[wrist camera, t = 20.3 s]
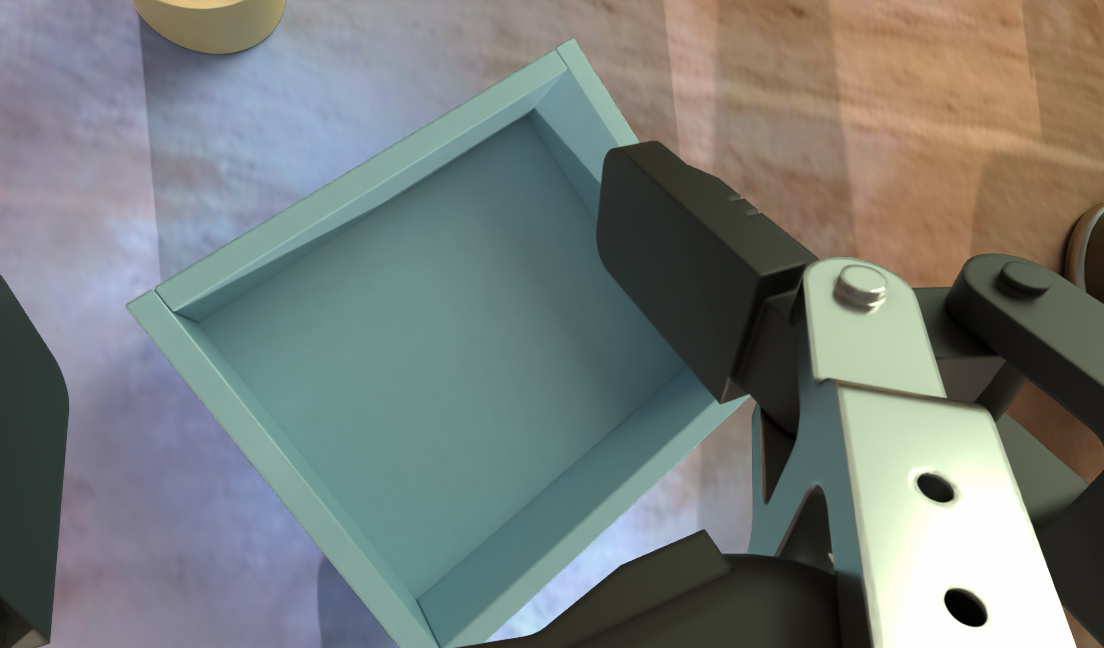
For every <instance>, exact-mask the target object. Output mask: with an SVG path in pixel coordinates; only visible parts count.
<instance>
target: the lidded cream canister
mask: <svg viewBox="0 0 1104 648" xmlns="http://www.w3.org/2000/svg"><path fill="white" fill-rule="evenodd" d="M131 1H132V3H133V5H134V7H135V8H136V10H137V11H138V13H139V14H140V15H141V17H142V18H143V19H144V20H145V21H146V23H148V24H149V25H150V26H151V27H152V28H153V29H154V30H155V31H156V32H158V33H159V34H160V35H162V36H163V37H165V38H166V39H168V40H170V41H171V42H173V43H175V44H178V45H180V46H182V47H185V48H188V49H191V50H194V51H198V52H203V53H211V54H227V53H234V52H239V51H242V50H246V49H248V48H250V47H253V46H255V45H256V44H258V43H260V42H261V41H263V40H264V39H265V38H266V37H268V36H269V35H270V34H271V32H272V31H273V30H274V29H275V28H276V26H277V25H278V23H279V21H280V19H281V17H282V15H283V11H284V8H285V2H286V0H131Z"/></svg>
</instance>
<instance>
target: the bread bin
mask: <svg viewBox="0 0 1104 648" xmlns="http://www.w3.org/2000/svg"><path fill="white" fill-rule="evenodd" d="M637 143H640V142H639V141H638V139H637V137H636V136H635V134H634V133H633V131H632V130H631V128H630V126H629V125H628V123H627V122H626V120H625V119H624V117H623V115H622V114H621V112H620V111H619V109H618V107H617V106H616V104H615V103H614V101H613V100H612V98H611V96H610V95H609V93H608V92H607V90H606V89H605V87H604V85H603V84H602V82H601V81H600V79H599V77H598V76H597V74H596V73H595V71H594V70H593V68H592V66H591V65H590V63H589V62H588V60H587V59H586V57H585V55H584V54H583V52H582V51H581V49H580V47H579V46H578V44H577V43H576V41H575V40H574V38H571V39H569V40H568V41H566V42H564V43H563V44H561V45H559V46H558V47H556V48H555V49H554V50H551V51H550V52H548V53H546V54H545V55H543V56H541V57H540V58H538V59H536V60H534V61H533V62H531V63H529V64H528V65H526V66H524V67H523V68H521V69H519V70H518V71H516V72H514V73H513V74H511V75H509V76H508V77H506V78H504V79H503V80H501V81H499V82H498V83H496V84H494V85H493V86H491V87H489V88H488V89H486V90H484V91H483V92H481V93H479V94H478V95H476V96H474V97H473V98H471V99H469V100H467V101H466V102H464V103H462V104H461V105H459V106H457V107H456V108H454V109H452V110H451V111H449V112H447V113H446V114H444V115H442V116H441V117H439V118H437V119H436V120H434V121H432V122H431V123H429V124H427V125H426V126H424V127H422V128H421V129H419V130H417V131H416V132H414V133H412V134H411V135H409V136H407V137H405V138H404V139H402V140H400V141H399V142H397V143H395V144H394V145H392V146H390V147H389V148H387V149H385V150H384V151H382V152H380V153H379V154H377V155H375V156H374V157H372V158H370V159H369V160H367V161H365V162H364V163H362V164H360V165H359V166H357V167H355V168H354V169H352V170H350V171H349V172H347V173H345V174H344V175H342V176H340V177H338V178H337V179H335V180H333V181H332V182H330V183H328V184H327V185H325V186H323V187H322V188H320V189H318V190H317V191H315V192H313V193H312V194H310V195H308V196H307V197H305V198H303V199H302V200H300V201H298V202H297V203H295V204H293V205H292V206H290V207H288V208H287V209H285V210H283V211H282V212H280V213H278V214H277V215H275V216H273V217H271V218H270V219H268V220H266V221H265V222H263V223H261V224H260V225H258V226H256V227H255V228H253V229H251V230H250V231H248V232H246V233H245V234H243V235H241V236H240V237H238V238H236V239H235V240H233V241H231V242H230V243H228V244H226V245H225V246H223V247H221V248H220V249H218V250H216V251H215V252H213V253H211V254H210V255H208V256H206V257H204V258H203V259H201V260H199V261H198V262H196V263H194V264H193V265H191V266H189V267H188V268H186V269H184V270H183V271H181V272H179V273H178V274H176V275H174V276H173V277H171V278H169V279H168V280H166V281H164V282H163V283H161V284H159V285H158V286H156V287H155V290H153V289H152V290H149V291H147V292H146V293H144V294H142V295H141V296H139V297H137V298H136V299H134V300H132V301H131V302H129V303H127V304H126V308H127V310H128V311H129V312H130V313H131V315H132V316H133V317H134V318H135V320H136V321H137V322H138V323H139V325H140V326H141V327H142V328H143V330H144V331H145V332H146V333H147V335H148V336H149V337H150V338H151V339H152V341H153V342H154V343H155V344H156V346H157V347H158V348H159V349H160V351H161V352H162V353H163V354H164V356H165V357H166V358H167V359H168V361H169V362H170V363H171V364H172V366H173V367H174V368H175V369H176V371H177V372H178V373H179V374H180V376H181V377H182V378H183V379H184V380H185V382H186V383H187V384H188V385H189V387H190V388H191V389H192V390H193V392H194V393H195V394H196V395H197V397H198V398H199V399H200V400H201V402H202V403H203V404H204V405H205V407H206V408H207V409H208V410H209V412H210V413H211V414H212V415H213V416H214V418H215V419H216V420H217V421H218V423H219V424H220V425H221V426H222V428H223V429H224V430H225V431H226V433H227V434H228V435H229V436H230V438H231V439H232V440H233V441H234V443H235V444H236V445H237V446H238V448H239V449H240V450H241V451H242V452H243V454H244V455H245V456H246V457H247V459H248V460H249V461H250V462H251V464H252V465H253V466H254V467H255V469H256V470H257V471H258V472H259V474H260V475H261V476H262V477H263V479H264V480H265V481H266V482H267V484H268V485H269V486H270V487H271V489H272V490H273V491H274V492H275V493H276V495H277V496H278V497H279V498H280V500H281V501H282V502H283V503H284V505H285V506H286V507H287V508H288V510H289V511H290V512H291V513H292V515H293V516H294V517H295V518H296V520H297V521H298V522H299V523H300V525H301V526H302V527H303V528H304V529H305V531H306V532H307V533H308V534H309V536H310V537H311V538H312V539H313V541H314V542H315V543H316V544H317V546H318V547H319V548H320V549H321V551H322V552H323V553H324V554H325V556H326V557H327V558H328V559H329V561H330V562H331V563H332V564H333V566H334V567H335V568H336V569H337V570H338V572H339V573H340V574H341V575H342V577H343V578H344V579H345V580H346V582H347V583H348V584H349V585H350V587H351V588H352V589H353V590H354V592H355V593H356V594H357V595H358V597H359V598H360V599H361V600H362V602H363V603H364V604H365V605H366V606H367V608H368V609H369V610H370V611H371V613H372V614H373V615H374V616H375V618H376V619H377V620H378V621H379V623H380V624H381V625H382V626H383V628H384V629H385V630H386V631H387V633H388V634H389V635H390V636H391V638H392V639H393V640H394V641H395V643H396V644H397V645H398V646H399V647H400V648H456V647H462V646H468V645H475V644H481V643H484V642H486V641H487V640H488V639H489V638H490V637H491V636H492V635H493V634H494V633H495V632H496V631H497V630H498V629H500V628H501V627H502V626H503V625H504V624H505V623H506V622H507V621H508V620H509V619H510V618H511V617H512V616H514V615H515V614H516V613H517V612H518V611H519V610H520V609H521V608H522V607H523V606H524V605H525V604H526V603H528V602H529V601H530V600H531V599H532V598H533V597H534V596H535V595H536V594H537V593H538V592H539V591H541V590H542V589H543V588H544V587H545V586H546V585H547V584H548V583H549V582H550V581H551V580H552V579H553V578H555V577H556V576H557V575H558V574H559V573H560V572H561V571H562V570H563V569H564V568H565V567H566V566H567V565H569V564H570V563H571V562H572V561H573V560H574V559H575V558H576V557H577V556H578V555H579V554H580V553H581V552H583V551H584V550H585V549H586V548H587V547H588V546H589V545H590V544H591V543H592V542H593V541H594V540H595V539H597V538H598V537H599V536H600V535H601V534H602V533H603V532H604V531H605V530H606V529H607V528H608V527H609V526H611V525H612V524H613V523H614V522H615V521H616V520H617V519H618V518H619V517H620V516H621V515H622V514H623V513H625V512H626V511H627V510H628V509H629V508H630V507H631V506H632V505H633V504H634V503H635V502H636V501H637V500H639V499H640V498H641V497H642V496H643V495H644V494H645V493H646V492H647V491H648V490H649V489H650V488H651V487H653V486H654V485H655V484H656V483H657V482H658V481H659V480H660V479H661V478H662V477H663V476H664V475H665V474H667V473H668V472H669V471H670V470H671V469H672V468H673V467H674V466H675V465H676V464H677V463H678V462H680V461H681V460H682V459H683V458H684V457H685V456H686V455H687V454H688V453H689V452H690V451H691V450H692V449H694V448H695V447H696V446H697V445H698V444H699V443H700V442H701V441H702V440H703V439H704V438H705V437H706V436H708V435H709V434H710V433H711V432H712V431H713V430H714V429H715V428H716V427H717V426H718V425H719V424H720V423H722V422H723V421H724V420H725V419H726V418H727V417H728V416H729V415H730V414H731V413H732V412H733V411H734V410H736V409H737V408H738V407H739V406H740V405H741V404H742V403H743V402H744V401H745V400H746V399H747V398H748V397H750V396H751V395H750V394H749V395H746V396H743V397H741V398H738V399H735V400H732V401H730V402H727V403H724V404H721V405H720V404H719V403H718V402H717V400H716V399H715V398H714V397H713V396H712V394H711V393H710V392H709V391H708V390H707V389H706V387H705V386H704V385H703V384H702V383H701V381H700V380H699V379H698V378H697V377H696V376H695V374H694V373H693V372H692V371H691V370H690V368H689V367H688V366H687V365H686V364H685V363H684V361H683V360H682V359H681V358H680V357H679V355H678V354H677V353H676V352H675V351H674V350H673V348H672V347H671V346H670V345H669V344H668V342H667V341H666V340H665V339H664V338H663V337H662V335H661V334H660V333H659V332H658V331H657V329H656V328H655V327H654V326H653V325H652V324H651V322H650V321H649V320H648V319H647V318H646V316H645V315H644V314H643V313H642V312H641V311H640V309H639V308H638V307H637V306H636V305H635V303H634V302H633V301H632V300H631V299H630V298H629V296H628V295H627V294H626V293H625V292H624V290H623V289H622V288H621V287H620V286H619V285H618V283H617V282H616V281H615V280H614V279H613V277H612V276H611V275H610V274H609V273H608V271H607V270H606V269H605V267H604V265H603V263H602V261H601V259H600V256H599V253H598V248H597V242H596V229H597V219H598V209H599V199H600V189H601V179H602V169H603V162H604V158H605V155H606V153H607V152H608V151H609V150H610V149H612V148H616V147H621V146H627V145H632V144H637Z"/></svg>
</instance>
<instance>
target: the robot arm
mask: <svg viewBox="0 0 1104 648" xmlns="http://www.w3.org/2000/svg"><path fill="white" fill-rule="evenodd" d="M596 242H597V248H598V253H599V256H600V259H601V261H602V263H603V265H604V267H605V269H606V270H607V271H608V273H609V274H610V275H611V276H612V277H613V279H614V280H615V281H616V282H617V283H618V285H619V286H620V287H621V288H622V289H623V290H624V292H625V293H626V294H627V295H628V296H629V298H630V299H631V300H632V301H633V302H634V303H635V305H636V306H637V307H638V308H639V309H640V311H641V312H642V313H643V314H644V315H645V316H646V318H647V319H648V320H649V321H650V322H651V324H652V325H653V326H654V327H655V328H656V329H657V331H658V332H659V333H660V334H661V335H662V337H663V338H664V339H665V340H666V341H667V342H668V344H669V345H670V346H671V347H672V348H673V350H674V351H675V352H676V353H677V354H678V355H679V357H680V358H681V359H682V360H683V361H684V363H685V364H686V365H687V366H688V367H689V368H690V370H691V371H692V372H693V373H694V374H695V376H696V377H697V378H698V379H699V380H700V381H701V383H702V384H703V385H704V386H705V387H706V389H707V390H708V391H709V392H710V393H711V394H712V396H713V397H714V398H715V399H716V400H717V402H718V403H719V404H720V405H721V404H724V403H727V402H730V401H732V400H735V399H738V398H741V397H743V396H746V395H749V394H750V395H751V396H752V397H753V398H754V399H755V401H756V402H757V404H756V407H755V409H754V412H753V415H752V484H753V523H752V532H751V538H750V543H749V547H748V551H747V554H722V553H721V552H720V550H719V549H718V547H717V546H716V545H715V543H714V542H713V540H712V539H711V537H710V536H709V535H708V533H707V532H706V530H705V529H703V530H701V531H699V532H696V533H694V534H692V535H689V536H687V537H685V538H683V539H680V540H678V541H676V542H673V543H671V544H669V545H666V546H664V547H662V548H659V549H657V550H655V551H653V552H650V553H648V554H646V555H643V556H641V557H639V558H636V559H634V560H632V561H629V562H627V563H625V564H623V565H620V566H619V567H618V568H617V569H615V570H614V571H613V572H612V573H611V574H609V575H608V576H607V577H606V578H605V579H603V580H602V581H601V582H600V583H598V584H597V585H596V586H595V587H594V588H592V589H591V590H590V591H589V592H587V593H586V594H585V595H584V596H583V597H581V598H580V599H579V600H578V601H576V602H575V603H574V604H573V605H572V606H570V607H569V608H568V609H567V610H566V611H564V612H563V613H562V614H561V615H559V616H558V617H557V618H556V619H555V620H553V621H552V622H551V623H550V624H548V625H547V626H546V627H545V628H543V629H542V630H540V631H539V632H536V633H534V634H532V635H528V636H524V637H518V638H512V639H506V640H499V641H493V642H487V643H481V644H475V645H468V646H462V647H456V648H1076V645H1075V642H1074V639H1073V637H1072V634H1071V631H1070V628H1069V626H1068V623H1067V620H1066V617H1065V615H1064V612H1063V609H1062V606H1061V604H1062V605H1063V606H1064V607H1065V608H1066V609H1067V610H1068V611H1069V612H1070V613H1071V614H1072V615H1073V616H1074V617H1075V618H1076V619H1077V621H1078V622H1079V623H1080V624H1081V625H1082V626H1083V627H1084V628H1085V629H1086V630H1087V631H1088V632H1089V633H1090V634H1091V635H1092V636H1093V637H1094V638H1095V639H1096V640H1097V641H1098V642H1099V643H1100V644H1101V645H1102V646H1103V647H1104V470H1103V471H1102V473H1101V474H1100V475H1099V476H1098V477H1097V478H1096V479H1095V480H1094V481H1093V482H1092V483H1091V484H1090V485H1089V484H1088V483H1087V482H1085V481H1084V480H1083V479H1082V478H1081V477H1080V476H1079V475H1077V474H1076V473H1075V472H1074V471H1073V470H1072V469H1070V468H1069V467H1068V466H1067V465H1066V464H1065V463H1064V462H1062V461H1061V460H1060V459H1059V458H1058V457H1057V456H1056V455H1054V454H1053V453H1052V452H1051V451H1050V450H1049V449H1047V448H1046V447H1045V446H1044V445H1043V444H1042V443H1041V442H1039V441H1038V440H1037V439H1036V438H1035V437H1034V436H1033V435H1031V434H1030V433H1029V432H1028V431H1027V430H1026V429H1024V428H1023V427H1022V426H1021V425H1020V424H1019V423H1018V422H1016V421H1015V420H1014V419H1013V418H1012V417H1011V416H1009V415H1008V414H1007V413H1006V412H1005V411H1006V410H1007V408H1008V407H1009V405H1010V404H1011V403H1012V401H1013V400H1014V399H1015V397H1016V396H1017V395H1018V393H1019V392H1020V391H1021V389H1022V388H1023V387H1024V385H1025V384H1026V383H1027V381H1028V380H1030V381H1032V382H1033V383H1034V384H1035V385H1037V386H1038V387H1039V388H1040V389H1042V390H1043V391H1044V392H1045V393H1047V394H1048V395H1049V396H1050V397H1052V398H1053V399H1054V400H1055V401H1056V402H1058V403H1059V404H1060V405H1061V406H1063V407H1064V408H1065V409H1066V410H1068V411H1069V412H1070V413H1071V414H1073V415H1074V416H1075V417H1076V418H1078V419H1079V420H1080V421H1081V422H1083V423H1084V424H1085V425H1086V426H1088V427H1089V428H1090V429H1091V430H1092V431H1093V432H1094V433H1095V434H1096V435H1097V436H1098V437H1099V439H1100V440H1101V442H1102V443H1103V446H1104V203H1102V204H1099V205H1097V206H1095V207H1093V208H1091V209H1090V210H1088V211H1087V212H1086V213H1085V214H1084V215H1083V216H1082V218H1081V219H1080V220H1079V222H1078V223H1077V225H1076V227H1075V228H1074V230H1073V233H1072V235H1071V238H1070V241H1069V244H1068V248H1067V253H1066V260H1065V279H1064V278H1063V277H1061V276H1060V275H1058V274H1057V273H1055V272H1053V271H1052V270H1050V269H1048V268H1046V267H1044V266H1042V265H1040V264H1037V263H1035V262H1032V261H1029V260H1026V259H1023V258H1019V257H1015V256H1011V255H1004V254H982V255H977V256H974V257H972V258H970V259H969V260H967V262H966V263H965V264H964V266H963V268H962V269H961V271H960V273H959V275H958V277H957V278H956V280H955V282H954V284H953V285H952V287H930V288H911V287H910V286H909V285H908V284H907V283H906V282H905V281H904V280H903V279H902V278H900V277H899V276H898V275H896V274H895V273H893V272H892V271H890V270H888V269H886V268H884V267H882V266H880V265H877V264H875V263H872V262H869V261H865V260H861V259H856V258H850V257H829V258H824V259H819V258H817V257H816V256H815V255H814V254H812V253H811V252H810V251H809V250H807V249H806V248H805V247H804V246H802V245H801V244H800V243H799V242H797V241H796V240H795V239H794V238H793V237H791V236H790V235H789V234H788V233H786V232H785V231H784V230H783V229H781V228H780V227H779V226H778V225H776V224H775V223H774V222H773V221H771V220H770V219H769V218H768V217H766V216H765V215H764V214H763V213H760V214H758V212H757V209H756V208H755V207H754V206H753V205H751V204H750V203H749V202H748V201H746V200H745V199H740V195H739V194H738V193H736V192H735V191H734V190H733V189H731V188H730V187H729V186H728V185H726V184H725V183H724V182H723V181H721V180H720V179H719V178H717V177H715V176H713V175H710V174H708V173H706V172H703V171H701V170H699V169H696V168H694V167H692V166H690V165H687V164H686V163H685V162H683V161H682V160H681V159H680V158H678V157H677V156H676V155H675V154H674V153H672V152H671V151H670V150H669V149H668V148H666V147H665V146H664V145H663V144H661V143H660V142H658V141H648V142H642V143H637V144H632V145H627V146H621V147H616V148H612V149H610V150H609V151H608V152H607V153H606V155H605V158H604V162H603V169H602V179H601V189H600V199H599V209H598V219H597V229H596ZM68 416H69V398H68V392H67V387H66V384H65V380H64V377H63V374H62V372H61V370H60V367H59V365H58V363H57V361H56V360H55V358H54V356H53V355H52V353H51V352H50V350H49V349H48V347H47V345H46V344H45V342H44V341H43V339H42V338H41V336H40V334H39V333H38V331H37V330H36V328H35V327H34V325H33V324H32V322H31V320H30V319H29V317H28V316H27V314H26V313H25V311H24V309H23V308H22V306H21V305H20V303H19V302H18V300H17V299H16V297H15V295H14V294H13V292H12V291H11V289H10V288H9V286H8V284H7V283H6V282H5V280H4V279H3V277H2V276H1V275H0V648H38V647H41V646H44V645H46V644H49V643H50V636H51V624H52V612H53V599H54V587H55V575H56V563H57V550H58V538H59V526H60V514H61V501H62V489H63V477H64V465H65V452H66V440H67V428H68ZM1060 603H1061V604H1060Z"/></svg>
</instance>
